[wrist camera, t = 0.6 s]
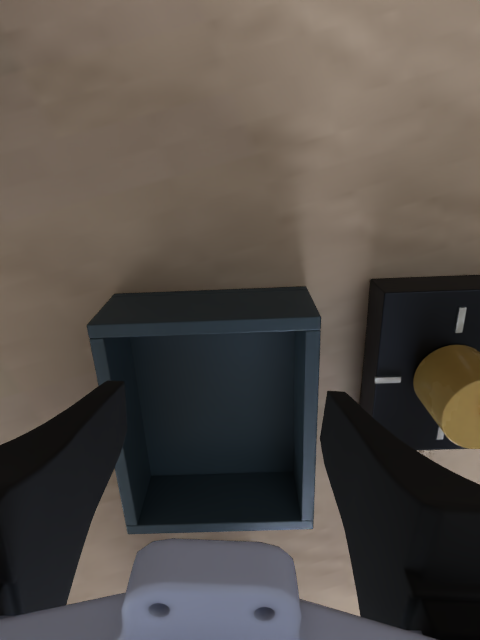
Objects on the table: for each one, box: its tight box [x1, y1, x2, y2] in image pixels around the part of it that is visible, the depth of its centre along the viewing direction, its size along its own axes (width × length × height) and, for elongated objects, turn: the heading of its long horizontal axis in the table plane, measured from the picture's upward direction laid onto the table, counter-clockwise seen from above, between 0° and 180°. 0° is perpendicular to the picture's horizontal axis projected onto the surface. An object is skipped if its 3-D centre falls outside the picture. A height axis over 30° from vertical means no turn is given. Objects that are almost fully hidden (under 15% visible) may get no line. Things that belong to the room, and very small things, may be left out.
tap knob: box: [413, 345, 480, 449], centre depth 21 cm, size 4×4×4 cm
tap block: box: [360, 275, 480, 450], centre depth 24 cm, size 10×8×3 cm
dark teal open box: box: [87, 287, 321, 534], centre depth 24 cm, size 13×11×5 cm
